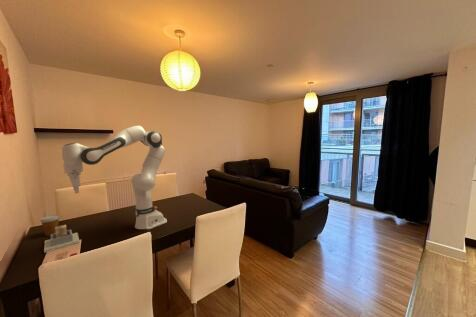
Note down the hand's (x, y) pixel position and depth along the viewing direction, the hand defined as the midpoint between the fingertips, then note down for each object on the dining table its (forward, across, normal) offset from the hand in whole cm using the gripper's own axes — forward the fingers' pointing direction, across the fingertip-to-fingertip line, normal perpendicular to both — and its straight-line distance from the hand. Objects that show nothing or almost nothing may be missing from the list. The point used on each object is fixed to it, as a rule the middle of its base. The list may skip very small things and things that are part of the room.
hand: (76, 191), depth 122 cm
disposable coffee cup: (+33, +30, +14) cm, 47 cm away
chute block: (+31, +8, +9) cm, 34 cm away
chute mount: (+33, +8, +9) cm, 35 cm away
